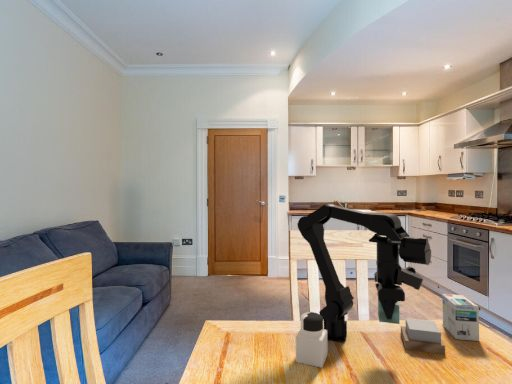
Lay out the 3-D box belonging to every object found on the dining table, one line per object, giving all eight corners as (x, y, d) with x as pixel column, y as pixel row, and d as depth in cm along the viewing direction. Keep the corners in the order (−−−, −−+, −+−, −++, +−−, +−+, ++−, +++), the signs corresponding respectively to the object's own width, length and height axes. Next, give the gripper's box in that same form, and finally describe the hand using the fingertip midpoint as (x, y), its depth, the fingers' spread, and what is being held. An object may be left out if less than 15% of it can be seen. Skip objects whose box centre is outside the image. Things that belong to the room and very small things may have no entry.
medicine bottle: (327, 355, 86) (327, 312, 86) (322, 368, 79) (321, 322, 79) (303, 349, 89) (302, 308, 89) (295, 362, 82) (295, 317, 82)
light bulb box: (480, 341, 92) (479, 306, 92) (455, 339, 94) (455, 304, 94) (463, 326, 103) (463, 294, 103) (441, 324, 104) (441, 293, 104)
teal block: (379, 321, 84) (379, 303, 84) (378, 314, 89) (377, 297, 89) (399, 324, 82) (399, 305, 82) (397, 316, 87) (396, 299, 87)
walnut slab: (405, 351, 89) (405, 340, 89) (400, 335, 98) (400, 326, 98) (445, 356, 85) (445, 345, 85) (436, 339, 95) (436, 330, 95)
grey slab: (409, 339, 89) (409, 329, 89) (405, 327, 97) (405, 318, 97) (441, 343, 87) (440, 332, 87) (434, 330, 94) (434, 321, 94)
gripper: (427, 269, 74) (428, 334, 74) (413, 254, 92) (414, 306, 92) (378, 266, 77) (378, 328, 78) (374, 252, 95) (374, 302, 95)
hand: (388, 315), depth 85 cm, fingers closed on teal block, 5 cm apart
